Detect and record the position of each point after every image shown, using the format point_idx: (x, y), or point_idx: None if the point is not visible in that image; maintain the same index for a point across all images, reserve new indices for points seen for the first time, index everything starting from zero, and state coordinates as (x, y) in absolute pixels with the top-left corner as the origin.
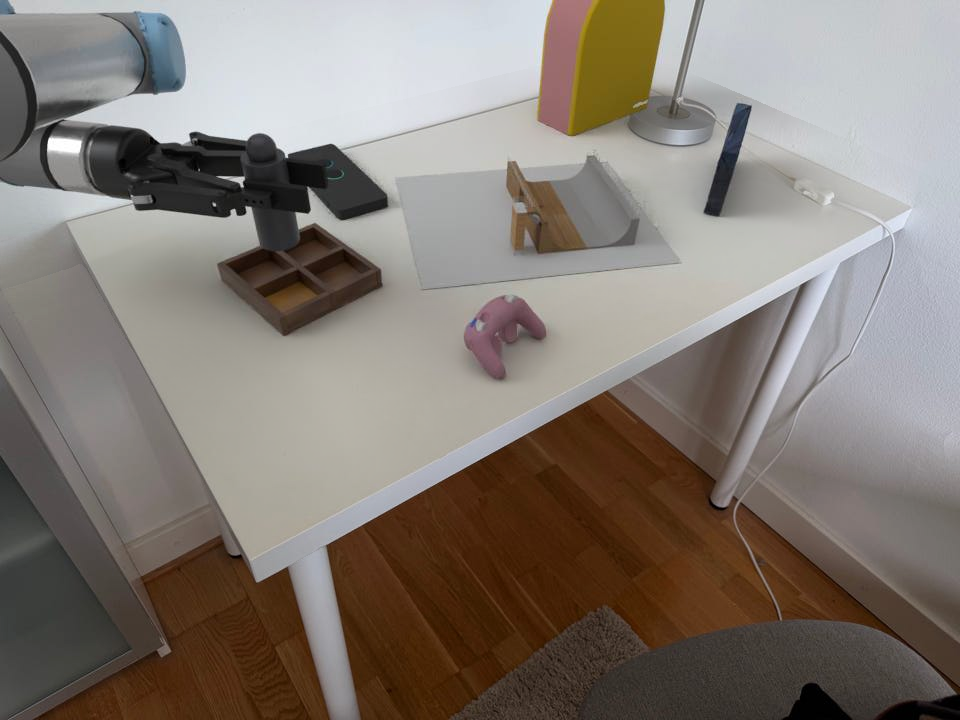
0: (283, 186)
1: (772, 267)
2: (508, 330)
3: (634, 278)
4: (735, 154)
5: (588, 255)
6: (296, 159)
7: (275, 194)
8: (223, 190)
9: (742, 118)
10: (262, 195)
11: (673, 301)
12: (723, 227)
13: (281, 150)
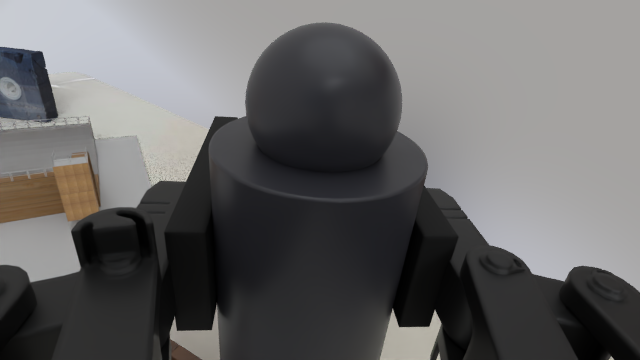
0: None
1: (148, 108)
2: None
3: (161, 154)
4: (40, 52)
5: (113, 175)
6: (203, 155)
7: None
8: (571, 283)
9: None
10: (450, 200)
11: (197, 141)
12: (78, 117)
13: (243, 117)
